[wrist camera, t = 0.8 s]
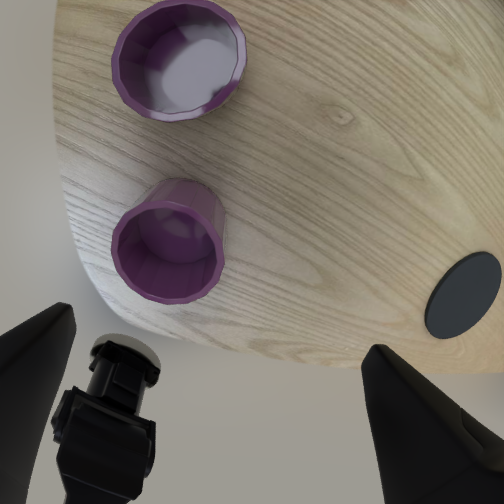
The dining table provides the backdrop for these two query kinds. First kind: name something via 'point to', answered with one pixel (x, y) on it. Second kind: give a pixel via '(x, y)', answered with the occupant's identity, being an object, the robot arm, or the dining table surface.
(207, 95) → the purple faceted cup
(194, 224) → the purple cup
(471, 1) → the dining table surface
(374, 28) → the dining table surface
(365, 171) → the dining table surface
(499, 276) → the coaster
